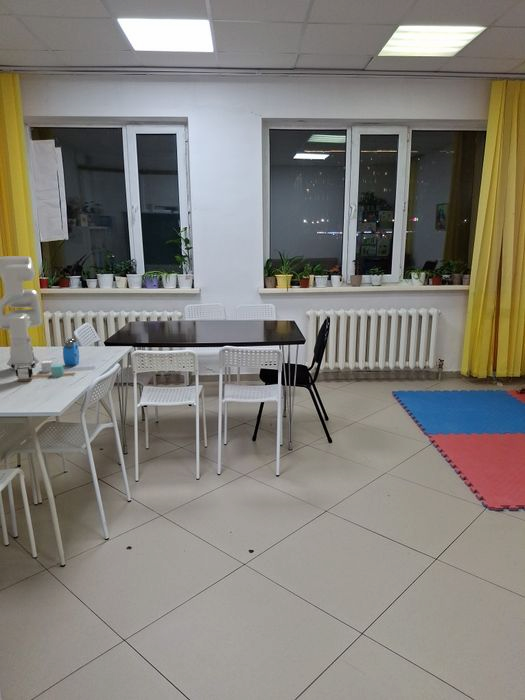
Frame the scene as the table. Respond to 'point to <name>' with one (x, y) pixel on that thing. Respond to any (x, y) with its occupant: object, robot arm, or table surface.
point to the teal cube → (57, 370)
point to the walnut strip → (24, 375)
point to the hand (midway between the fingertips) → (24, 376)
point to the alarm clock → (71, 352)
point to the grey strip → (47, 368)
